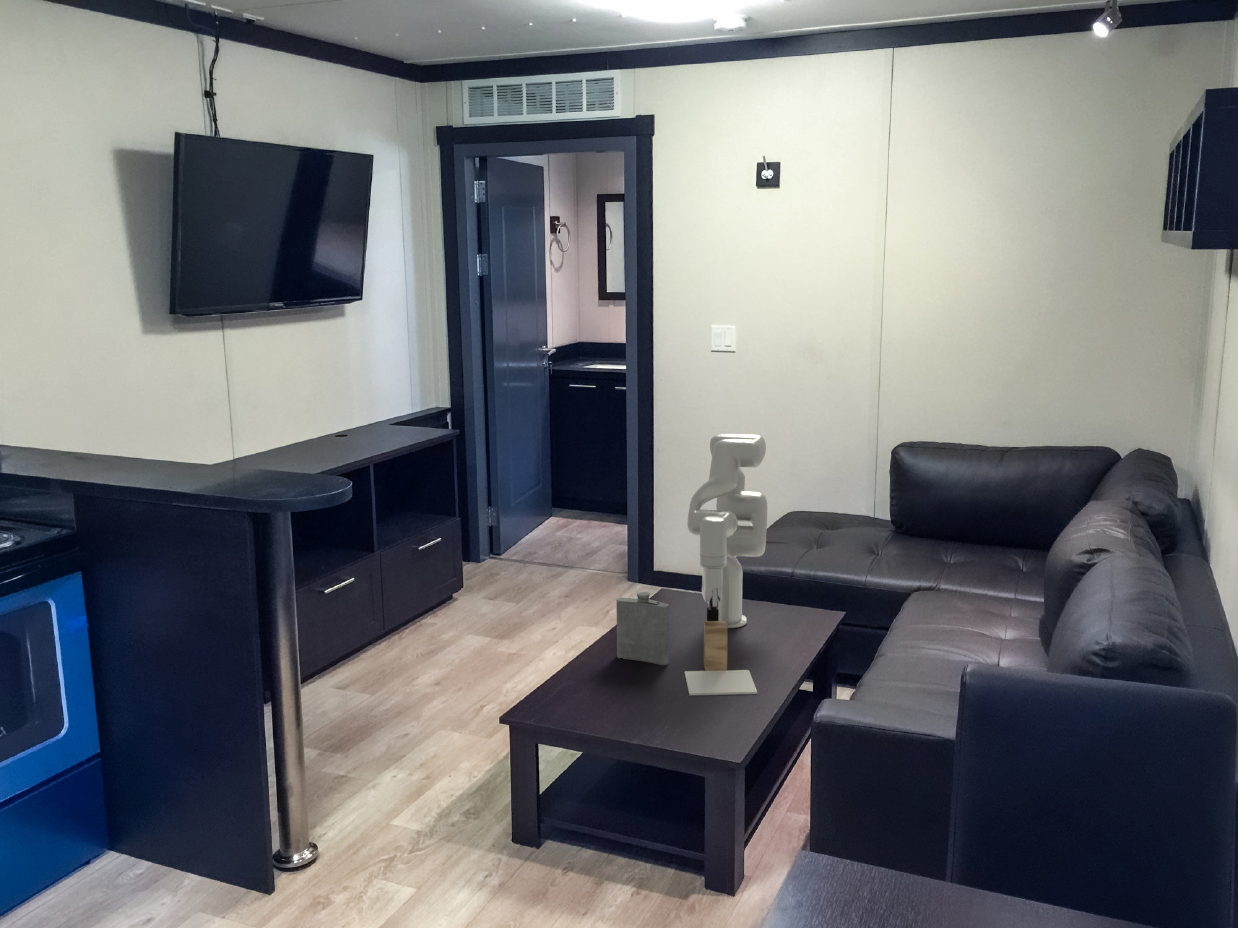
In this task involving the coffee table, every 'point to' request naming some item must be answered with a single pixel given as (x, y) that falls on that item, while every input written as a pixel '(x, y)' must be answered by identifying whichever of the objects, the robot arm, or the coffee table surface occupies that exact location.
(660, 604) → the hip flask
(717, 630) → the brown wooden block
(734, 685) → the mat
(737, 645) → the coffee table surface
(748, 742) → the coffee table surface
